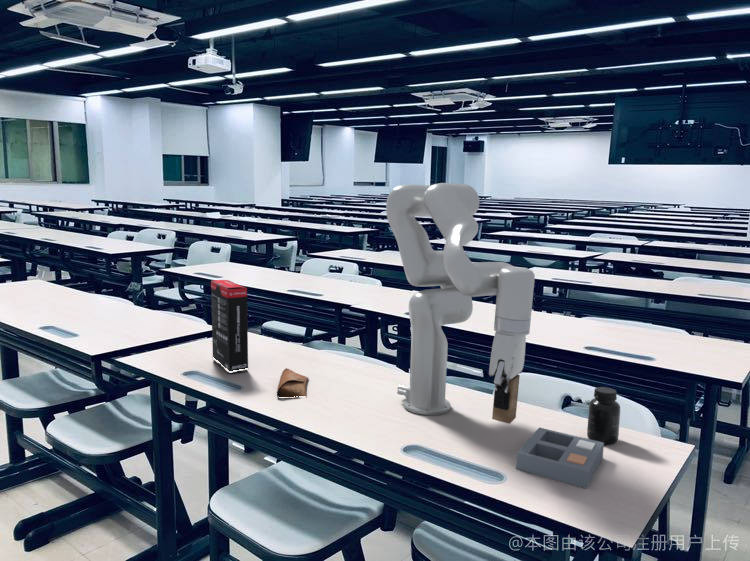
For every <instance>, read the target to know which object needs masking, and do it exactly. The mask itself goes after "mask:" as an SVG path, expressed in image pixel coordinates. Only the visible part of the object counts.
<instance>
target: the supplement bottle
mask: <svg viewBox="0 0 750 561" xmlns="http://www.w3.org/2000/svg"><path fill="white" fill-rule="evenodd" d="M593 397H594V398H592V399H591V400H590V401H589V402H588V413H587V414H588V415H587V429H586V431H587V432H586V436H587V439H590V440H595V441H599V442H603V443H604V446H605V445H606V446H607V445H608V446H609V445H610V446H611V445H614V444H616V443H617V442H618V441H619V434H620V421H621V406H620V404H619V402H617V399H618V397H617V390H616V389H613V388H610V387H605V386H599V387H595V388H594V393H593Z"/></svg>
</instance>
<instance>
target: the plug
mask: <svg viewBox="0 0 750 561" xmlns="http://www.w3.org/2000/svg"><path fill="white" fill-rule="evenodd" d="M503 377H507V375H503ZM520 377H521V376H520V374H518V375H516V376H515V377H514V378H512V379H510V386H509V392H510V400H509V409H508V410H503V409H499V408H495V407H494V402H493V403H492V404H493V405H492V414H491V415H492V416H491V419H492V420H495V421H499V422H502V423H504V424H508V425H510V424H511V423H512V422H514V420H515V419H517V408H518V406H517V405H518V395H519V389H520V388H519V385H520ZM502 381H503V380H502ZM503 382H504V383H505V386H506V381H503ZM493 394H494V395H493V398H494V397H495V391H494V393H493Z"/></svg>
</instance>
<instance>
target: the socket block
mask: <svg viewBox="0 0 750 561" xmlns="http://www.w3.org/2000/svg"><path fill="white" fill-rule="evenodd" d="M604 446H605V444H604V443H603V442H599V441H595V440H590V439H589V438H586V437H581V436H577V435H573V434H568V433H564V432H561V431H560V432H559V431H556V430H552V429H547V428H544V427H538V428H537V429H536V430H535V431H534V433H533V434H532V435H531V436H530V437H529V438H528V440H527V441H526V442H525V443H524V444H523V445H522V446H521V447H520V449H519V450H518V451H517V452H516V460H515V461H516V463H515V470H518V471H519V470H520V471H523V472H526V473H530V474H534V475H537V476H541V477H544V478H548V479H551V480H553V481H554V480H555V481H557V482H561V483H565V484H568V485H572V486H575V487H580V488H583V489H588V487H589V486H590V484H591V482H592V480H593V478H594V476H595V473H596V472H597V470H598V468H599V466H600V464H601V462H602V460H603V456H604V448H605V447H604Z"/></svg>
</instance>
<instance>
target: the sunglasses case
mask: <svg viewBox="0 0 750 561" xmlns="http://www.w3.org/2000/svg"><path fill="white" fill-rule="evenodd" d="M308 378H309V377H308V376H305V375H302V374H300V373H298V372H297V373H296V372H295V371H294V370H292V369H289V368H287V367H285V368H284V369H283V371H282V373H281V375H280V377H279V381H278V385H277V388H276V390H277V391H276V396H277V398H278V396H279V397H294V396H295V397H296V396H298V397H299V396H306V397H307V387H306V386H307V385H308V382H309V380H308ZM307 381H308V382H307Z"/></svg>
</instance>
